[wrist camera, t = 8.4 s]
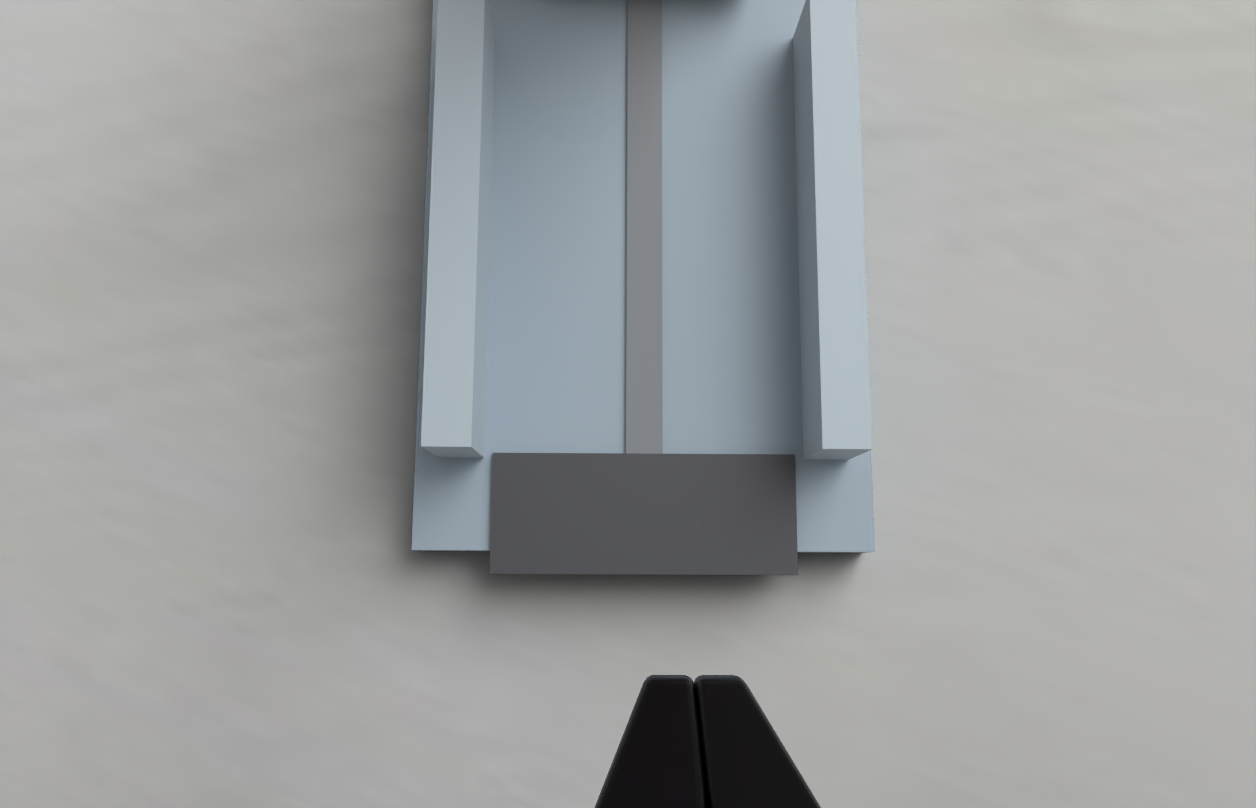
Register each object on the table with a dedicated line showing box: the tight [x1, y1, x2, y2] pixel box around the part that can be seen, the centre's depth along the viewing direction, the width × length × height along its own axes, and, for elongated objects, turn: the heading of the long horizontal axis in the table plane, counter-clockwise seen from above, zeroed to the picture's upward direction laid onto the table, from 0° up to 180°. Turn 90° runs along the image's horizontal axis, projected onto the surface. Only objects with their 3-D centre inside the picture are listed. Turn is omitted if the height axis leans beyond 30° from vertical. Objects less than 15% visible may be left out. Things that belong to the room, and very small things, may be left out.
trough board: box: [411, 0, 875, 575], centre depth 22 cm, size 18×10×3 cm, turn 0°
